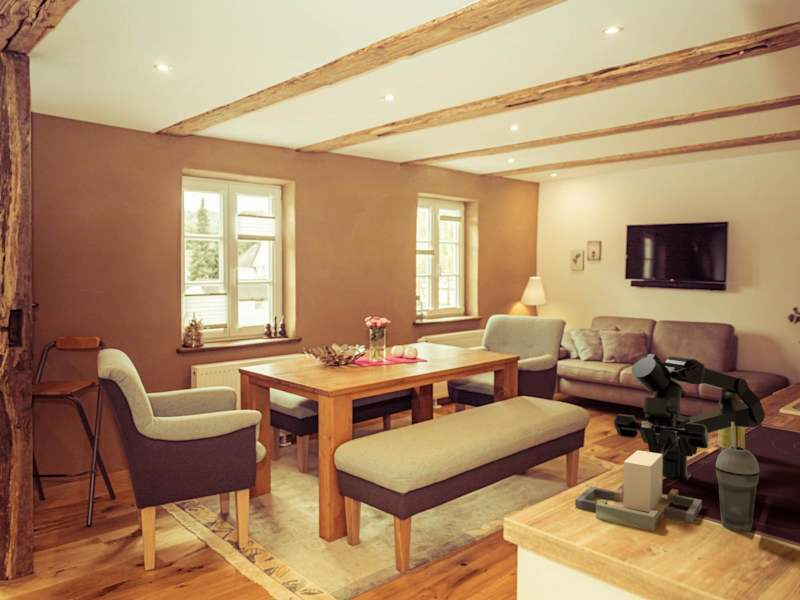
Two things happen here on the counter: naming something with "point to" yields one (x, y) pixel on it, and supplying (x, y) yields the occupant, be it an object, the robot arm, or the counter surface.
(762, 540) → the counter surface
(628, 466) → the cream block
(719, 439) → the sauce bottle
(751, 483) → the beverage cup
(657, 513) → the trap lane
